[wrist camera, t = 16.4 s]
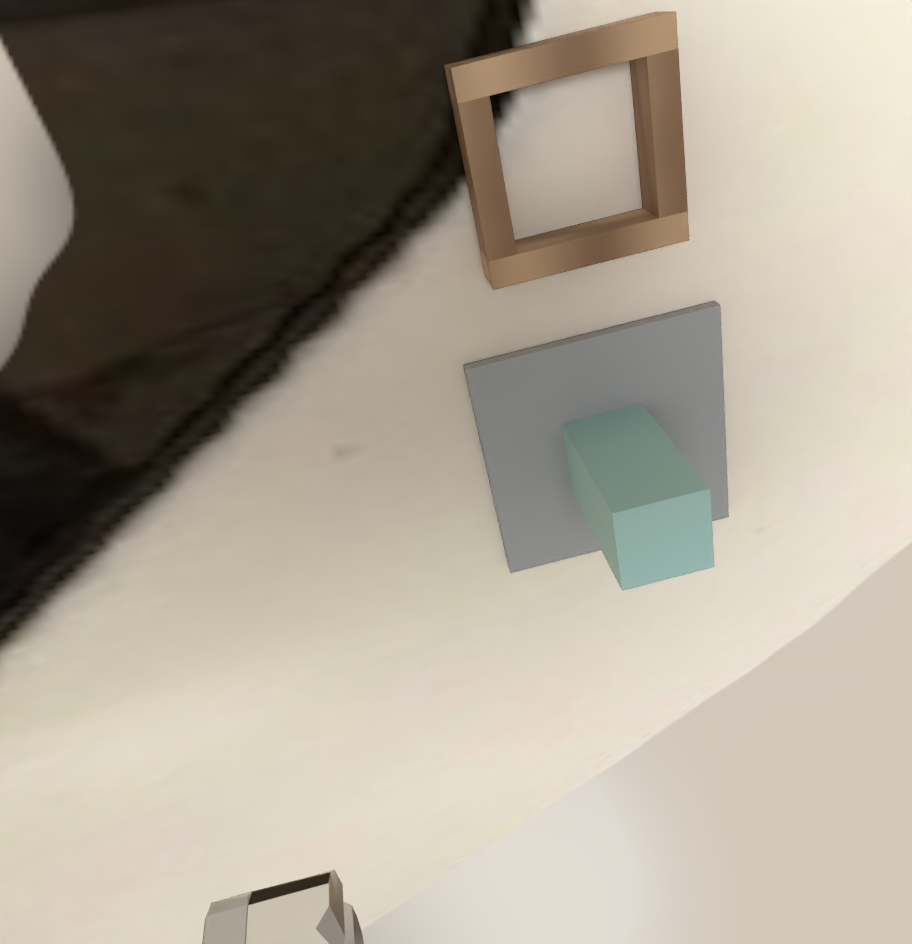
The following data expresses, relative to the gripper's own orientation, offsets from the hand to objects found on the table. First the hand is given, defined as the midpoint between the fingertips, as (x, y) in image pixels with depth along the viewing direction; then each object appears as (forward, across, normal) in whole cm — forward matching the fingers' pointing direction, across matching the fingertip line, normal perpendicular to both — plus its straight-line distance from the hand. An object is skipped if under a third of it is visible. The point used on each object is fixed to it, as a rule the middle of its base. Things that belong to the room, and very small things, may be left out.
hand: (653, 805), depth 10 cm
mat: (+27, -8, +11) cm, 31 cm away
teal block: (+27, -7, +11) cm, 30 cm away
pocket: (+27, -7, -3) cm, 28 cm away
